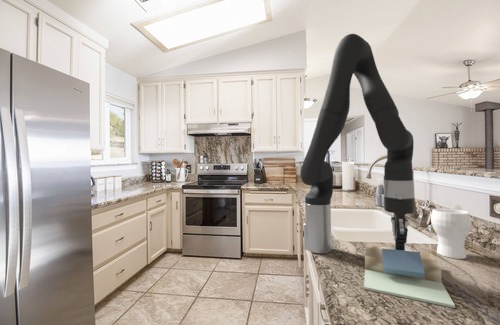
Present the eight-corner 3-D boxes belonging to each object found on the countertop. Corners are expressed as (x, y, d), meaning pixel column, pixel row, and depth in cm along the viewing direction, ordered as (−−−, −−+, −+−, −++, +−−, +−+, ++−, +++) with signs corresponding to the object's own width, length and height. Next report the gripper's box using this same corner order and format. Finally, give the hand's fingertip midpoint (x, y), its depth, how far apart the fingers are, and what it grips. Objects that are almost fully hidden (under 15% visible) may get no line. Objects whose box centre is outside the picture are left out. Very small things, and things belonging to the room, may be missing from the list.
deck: (365, 270, 70) (364, 257, 70) (366, 256, 81) (365, 244, 81) (441, 284, 62) (441, 268, 62) (431, 266, 72) (431, 253, 72)
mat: (363, 289, 60) (363, 286, 60) (365, 271, 70) (365, 269, 70) (455, 308, 51) (455, 305, 51) (442, 284, 61) (441, 282, 61)
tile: (384, 272, 65) (384, 267, 64) (382, 253, 69) (382, 248, 68) (423, 278, 61) (424, 273, 60) (418, 257, 66) (419, 252, 64)
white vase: (432, 247, 88) (431, 207, 89) (470, 253, 82) (469, 210, 82) (431, 255, 80) (430, 211, 80) (474, 263, 74) (472, 215, 74)
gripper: (382, 192, 76) (383, 246, 76) (385, 198, 65) (386, 261, 64) (410, 193, 73) (411, 249, 73) (418, 199, 61) (420, 266, 61)
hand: (400, 254), depth 69 cm, fingers closed
